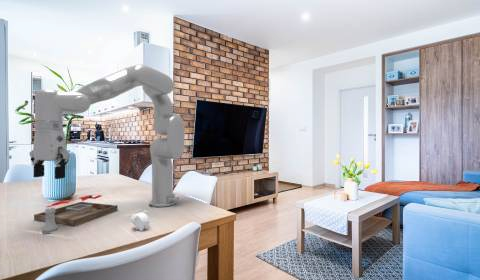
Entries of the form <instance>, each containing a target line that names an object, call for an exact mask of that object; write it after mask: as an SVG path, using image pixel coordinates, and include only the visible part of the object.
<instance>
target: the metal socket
mask: <svg viewBox="0 0 480 280" xmlns="http://www.w3.org/2000/svg"><path fill="white" fill-rule="evenodd" d="M91 211H93V205H85V204H79V205H75V206H72V207H68V208H65V214H69V215H76V216H79V215H82V214H85V213H88V212H91Z"/></svg>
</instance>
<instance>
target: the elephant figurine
mask: <svg viewBox="0 0 480 280" xmlns="http://www.w3.org/2000/svg"><path fill="white" fill-rule="evenodd" d="M130 221H131V222H130V223H132V224H133V225H134V226H135V227H134V228H135V230H138V231H140V232H142V231H144V230H148V228H149V225H150V213H149V212H148V210H143V211H141V212H137V213H132V214H131V216H130Z"/></svg>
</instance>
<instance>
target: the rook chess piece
mask: <svg viewBox="0 0 480 280" xmlns="http://www.w3.org/2000/svg"><path fill="white" fill-rule="evenodd" d="M55 209H56V208H55V207H46V208H45V211H43V212H44V213H45V214H46V216H45V218H46V221H45V222H44V225H43V227H42V228H41V229H42V232H41V233H42V234H43V235H52V234H53V232H55V231H57V230H58V224H56V223H55V219H54V216H55V215H54V213H55V212H56V210H55ZM51 232H52V233H51Z"/></svg>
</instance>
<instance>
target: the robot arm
mask: <svg viewBox="0 0 480 280" xmlns="http://www.w3.org/2000/svg"><path fill="white" fill-rule="evenodd" d="M141 86H142V90H143V92H144V93H145V94H146V96H148V97H149V99H150V100H151V101H152V104H153V130H154V132H155V134H157V135H158V136H159V135H160V136H166V137H158V138H155V139H154V140H153V141H152V142H151V144H150V145H149V146H150V147H149V152H150V158H151V159H150V160H151V200H149V201H148V205H149V206H150V207H153V208H164V207H171V206H174V205H176V203H178V202H179V201H180V196H176V195H175V193H174V191H173V189H174V185H173V181H174V180H173V178H174V174H173V173H174V171H173V170H174V169H173V168H174V166H173V162H172V160H176V159H179V158H181V157H182V155H183V153H184V150H185V139H186V138H185V132H186V129H185V128H186V127H185V125H186V124H185V122H184V120H183V118H182V117H181V116H179V115H177V114H173V104H172V103H173V102H172V101H171V98H170V96H169V95H170V94H171V93H172V92H173V91H174V87H175V84H174V81H173V79H172V78H171V76H169V75H167V74H165V73H163V72H161V71H159V70H156V69H154V68H152V67H150V66H148V65H145V64H141V63H140V64H136V65H135V64H134V65H133V66H129V67H125V68H124V69H120V70H118V71H116V72H113V73H111V74H108V75H106V76H104V77H101V78H99V79H97V80H94V81H92V82H90V83H87V84H86V85H83V86H81V87H78V88H75V89H73V90H71V91H58V90H53V89H43V88H42V89H37V90H36V91H35V93H34V137H33V147H32V148H33V149H32V150H30V151H29V153H28V154H29V157H30V160H31V162H32V163H31V165H32V166H33V177H34V178H40V177H41V178H42V177H44V176H45V164H44V163H45V161H47V162H53V163H54V164H55V167H54V180H59V179H64V178H66V167H67V166H68V162H69V159H70V157H71V153H70V152H68V150H67V149H68V148H67V138H66V134H65V131H64V130H63V128H64V127H63V126H64V125H63V124H64V123H63V122H64V120H63V119H64V115H79V114H82V113H85V112H87V111H88V110H89V109H90V107H91V105H93V104H96V103H100V102H105V101H108V100H111V99H115V98H116V97H119V96H120V95H122V94H124V93H126V92H129V91H131V90H133V89H135V88H138V87H141Z"/></svg>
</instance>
